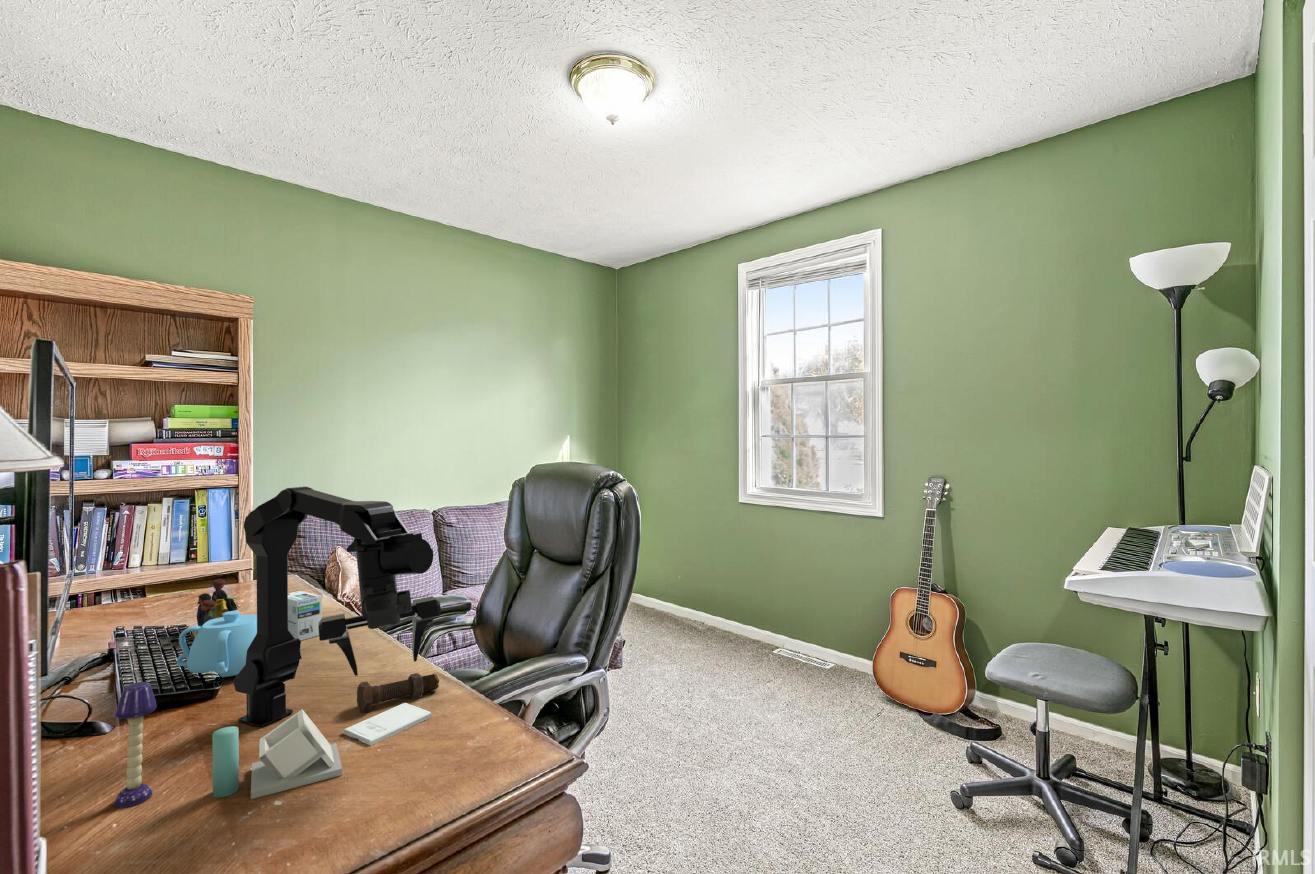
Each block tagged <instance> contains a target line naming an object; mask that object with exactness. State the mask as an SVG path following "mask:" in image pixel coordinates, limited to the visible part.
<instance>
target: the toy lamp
mask: <svg viewBox="0 0 1315 874" xmlns="http://www.w3.org/2000/svg"><path fill="white" fill-rule="evenodd" d="M157 707H158V706H157V701H156V697H155V695H154V691H153V689H152V686H151V684H150V682H148V681H140V682H134V683H130V684H129V685H126V686H125V687H124V688H123V690H122V693H121V696H120V698H119V702H118V704H117V707H116V710H115V717H116V718H117V719H121V720H122V719H125V720H127V723H128V726H127V734H128V737H127V740H126V741H127V742H126V743H127V745H128V746H127V749H126V755H127V758H126V766H127V768H126V773H125V774H126V778H127V779H126V781H125V786H126V787H124V788H123V789H122V790H120V792H119V793H117V796H116V797H115V799H114V803H113V805H114V806H115V807H117V808H127V807H131V806H135V805H138V804H141V803H143V802H145V801H147V800H148V799H150V798H151V797H152V795H153V790H152V788H151V786H150V785H148V784H147V783H142V780H143V777H142V775H141V774H142V772H143V766H142V763H143V754H142V753H143V749H144V746H143V743H142V742H143V739H144V734H143V731H144V724H143V721H144V717H145V716H147V715H149V714H151V713H153V712H154V711H156V709H157Z"/></svg>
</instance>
